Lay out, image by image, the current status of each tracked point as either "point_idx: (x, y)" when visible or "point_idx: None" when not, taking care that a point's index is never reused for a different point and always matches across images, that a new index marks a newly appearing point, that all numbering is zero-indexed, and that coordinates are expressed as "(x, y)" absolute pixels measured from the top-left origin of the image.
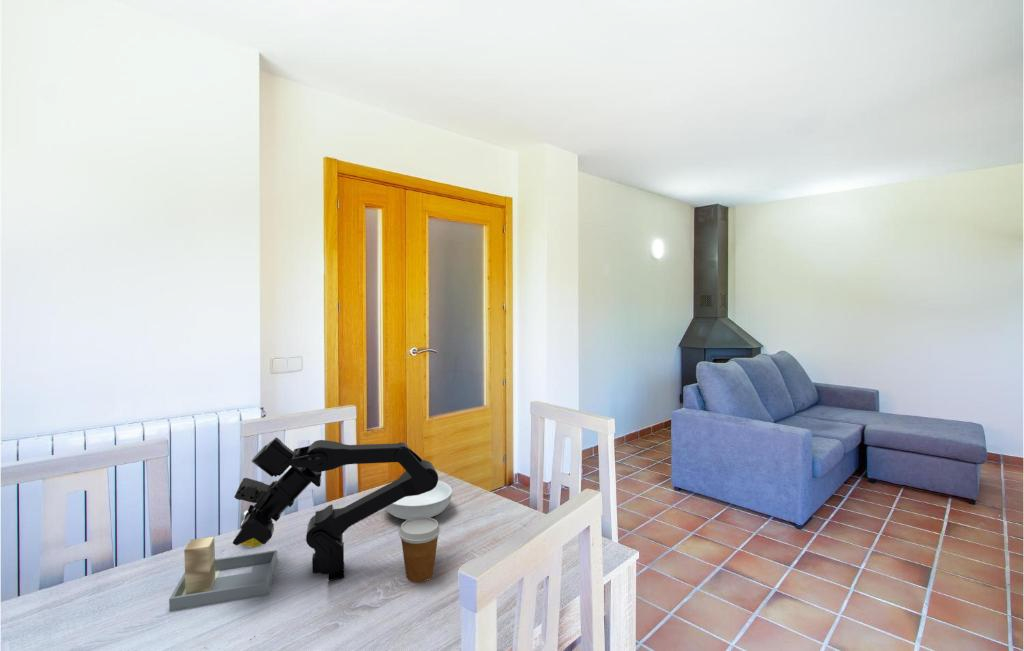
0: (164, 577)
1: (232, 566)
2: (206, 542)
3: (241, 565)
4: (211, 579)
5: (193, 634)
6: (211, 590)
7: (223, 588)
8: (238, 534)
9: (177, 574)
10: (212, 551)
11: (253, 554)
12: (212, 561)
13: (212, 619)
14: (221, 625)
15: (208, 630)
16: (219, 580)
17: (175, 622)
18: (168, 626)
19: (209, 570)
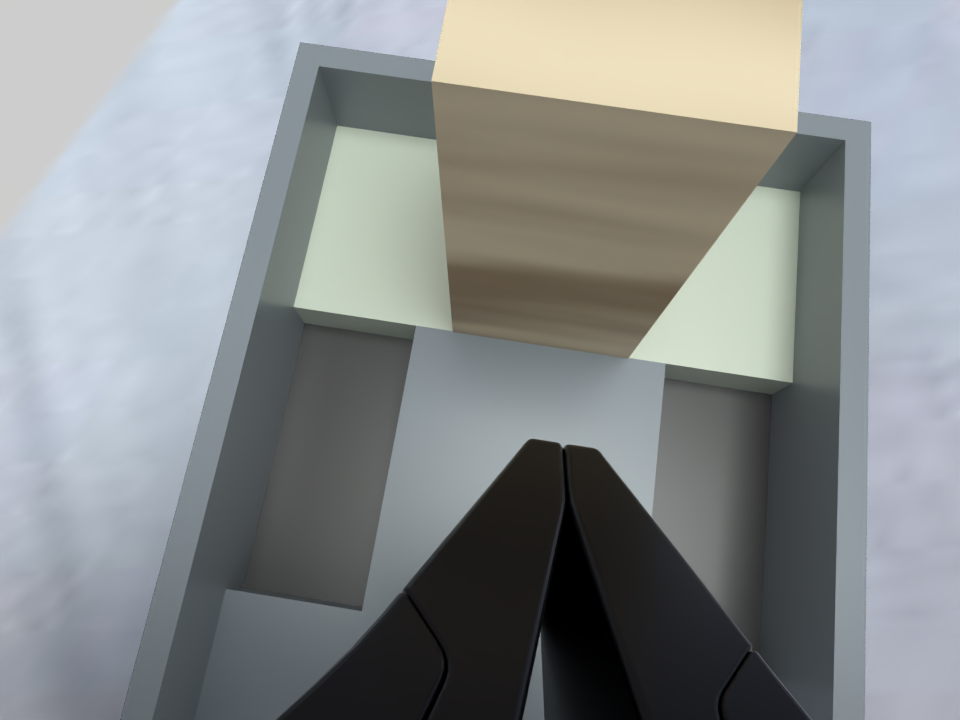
0: (898, 46)
1: (797, 482)
2: (611, 40)
3: (792, 563)
4: (506, 313)
5: (52, 281)
6: (470, 340)
7: (454, 427)
8: (452, 535)
9: (914, 114)
10: (613, 207)
11: (840, 699)
12: (578, 260)
13: (161, 381)
14: (44, 444)
15: (38, 365)
16: (606, 389)
17: (263, 170)
18: (240, 139)
19: (446, 254)
